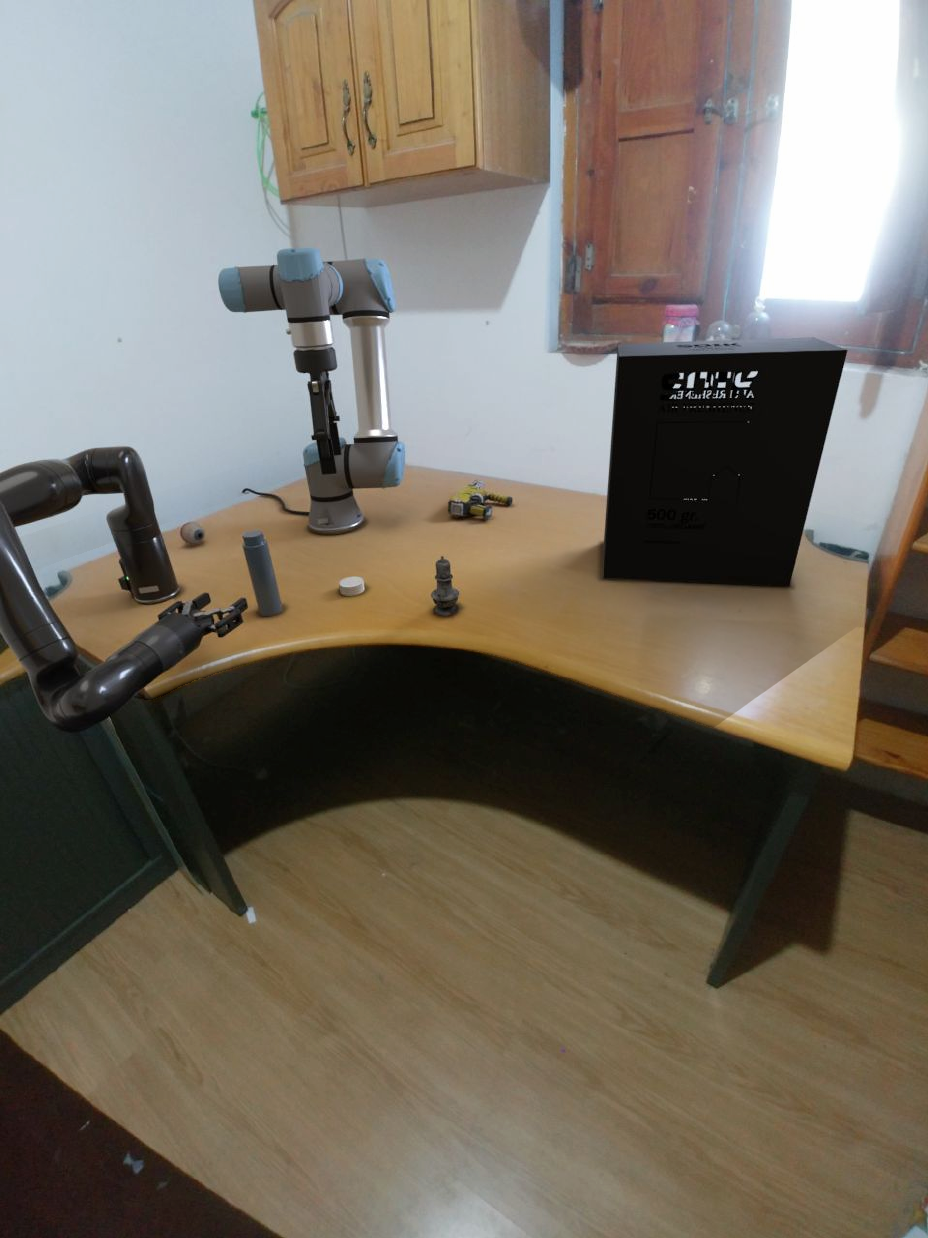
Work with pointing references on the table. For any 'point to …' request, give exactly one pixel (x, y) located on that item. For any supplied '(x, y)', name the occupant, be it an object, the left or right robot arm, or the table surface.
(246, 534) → the bottle
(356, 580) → the white cylinder
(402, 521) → the table surface
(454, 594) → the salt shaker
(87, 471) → the left robot arm
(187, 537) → the eyeball
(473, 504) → the toy gun
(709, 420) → the cardboard box
